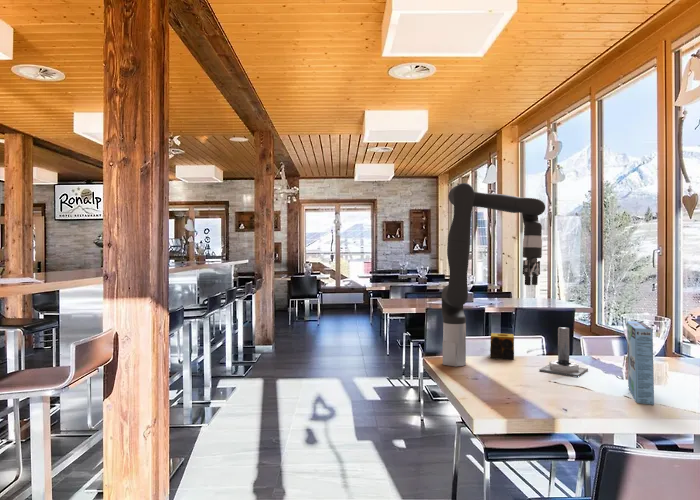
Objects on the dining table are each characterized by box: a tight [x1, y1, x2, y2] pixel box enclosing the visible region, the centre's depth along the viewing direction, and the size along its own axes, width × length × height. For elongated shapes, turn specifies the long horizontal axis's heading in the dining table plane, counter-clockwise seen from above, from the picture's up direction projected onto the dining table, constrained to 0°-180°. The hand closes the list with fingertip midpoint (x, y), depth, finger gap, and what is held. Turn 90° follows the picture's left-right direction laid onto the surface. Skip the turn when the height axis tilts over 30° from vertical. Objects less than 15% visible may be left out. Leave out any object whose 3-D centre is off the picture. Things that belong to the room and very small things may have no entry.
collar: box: [538, 360, 589, 378], centre depth 185 cm, size 14×14×3 cm
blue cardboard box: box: [626, 320, 655, 406], centre depth 152 cm, size 20×5×23 cm, turn 156°
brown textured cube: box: [489, 332, 515, 361], centre depth 211 cm, size 10×10×10 cm
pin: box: [557, 326, 570, 365], centre depth 185 cm, size 4×4×16 cm
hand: (531, 285), depth 198 cm, fingers open, 8 cm apart
